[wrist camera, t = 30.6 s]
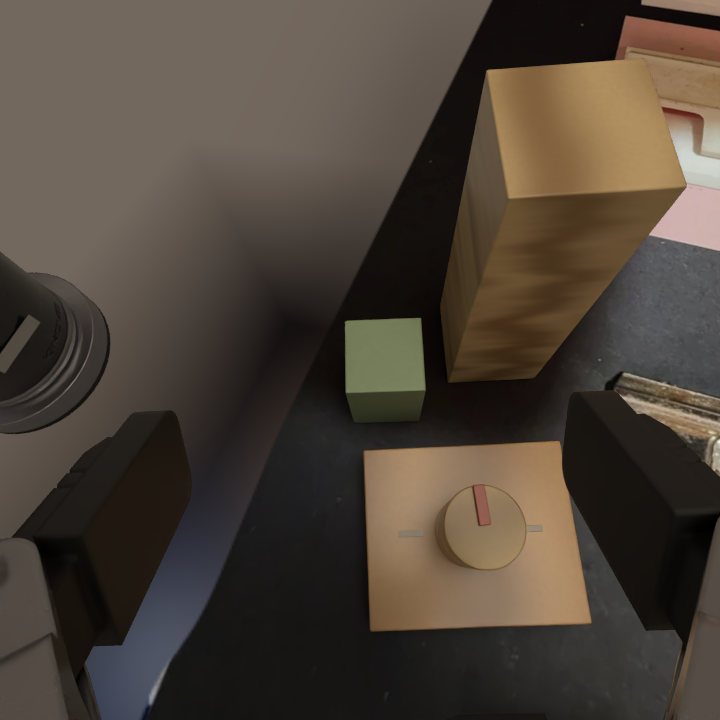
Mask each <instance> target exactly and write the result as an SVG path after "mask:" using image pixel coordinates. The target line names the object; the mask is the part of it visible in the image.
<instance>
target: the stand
mask: <svg viewBox="0 0 720 720" xmlns="http://www.w3.org/2000/svg"><path fill="white" fill-rule="evenodd" d="M686 186H687V184H686V181H685V178H684V175H683V172H682V169H681V166H680V163H679V160H678V157H677V154H676V150H675V147H674V144H673V141H672V138H671V135H670V132H669V129H668V126H667V123H666V120H665V117H664V113H663V110H662V107H661V104H660V101H659V98H658V95H657V92H656V89H655V86H654V83H653V79H652V76H651V73H650V70H649V67H648V64H647V61H646V59H644V58H642V59H628V60H615V61H602V62H589V63H575V64H562V65H549V66H536V67H523V68H509V69H496V70H488V71H487V72H486V76H485V81H484V86H483V91H482V96H481V101H480V106H479V111H478V116H477V121H476V127H475V132H474V137H473V142H472V147H471V152H470V157H469V162H468V167H467V172H466V178H465V183H464V188H463V193H462V198H461V203H460V208H459V213H458V218H457V223H456V228H455V234H454V239H453V244H452V249H451V254H450V259H449V264H448V269H447V274H446V279H445V285H444V290H443V295H442V300H441V305H440V311H441V321H442V330H443V340H444V350H445V359H446V369H447V379H448V382H449V383H452V382H471V381H490V380H509V379H529V378H535V376H536V375H537V374H538V373H539V371H540V370H541V369H542V367H543V366H544V365H545V364H546V362H547V361H548V360H549V359H550V357H551V356H552V355H553V354H554V352H555V351H556V350H557V349H558V347H559V346H560V345H561V344H562V342H563V341H564V340H565V339H566V337H567V336H568V335H569V334H570V332H571V331H572V330H573V329H574V327H575V326H576V325H577V324H578V322H579V321H580V320H581V319H582V317H583V316H584V315H585V314H586V312H587V311H588V310H589V309H590V307H591V306H592V305H593V304H594V302H595V301H596V300H597V299H598V297H599V296H600V295H601V294H602V292H603V291H604V290H605V289H606V287H607V286H608V285H609V284H610V282H611V281H612V280H613V279H614V277H615V276H616V275H617V274H618V272H619V271H620V270H621V269H622V267H623V266H624V265H625V264H626V262H627V261H628V260H629V259H630V257H631V256H632V255H633V253H634V252H635V251H636V250H637V248H638V247H639V246H640V245H641V243H642V242H643V241H644V240H645V238H646V237H647V236H648V235H649V233H650V232H651V231H652V230H653V228H654V227H655V226H656V225H657V223H658V222H659V221H660V220H661V218H662V217H663V216H664V215H665V213H666V212H667V211H668V210H669V208H670V207H671V206H672V205H673V203H674V202H675V201H676V200H677V198H678V197H679V196H680V195H681V193H682V192H683V191H684V190H685V188H686Z"/></svg>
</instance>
